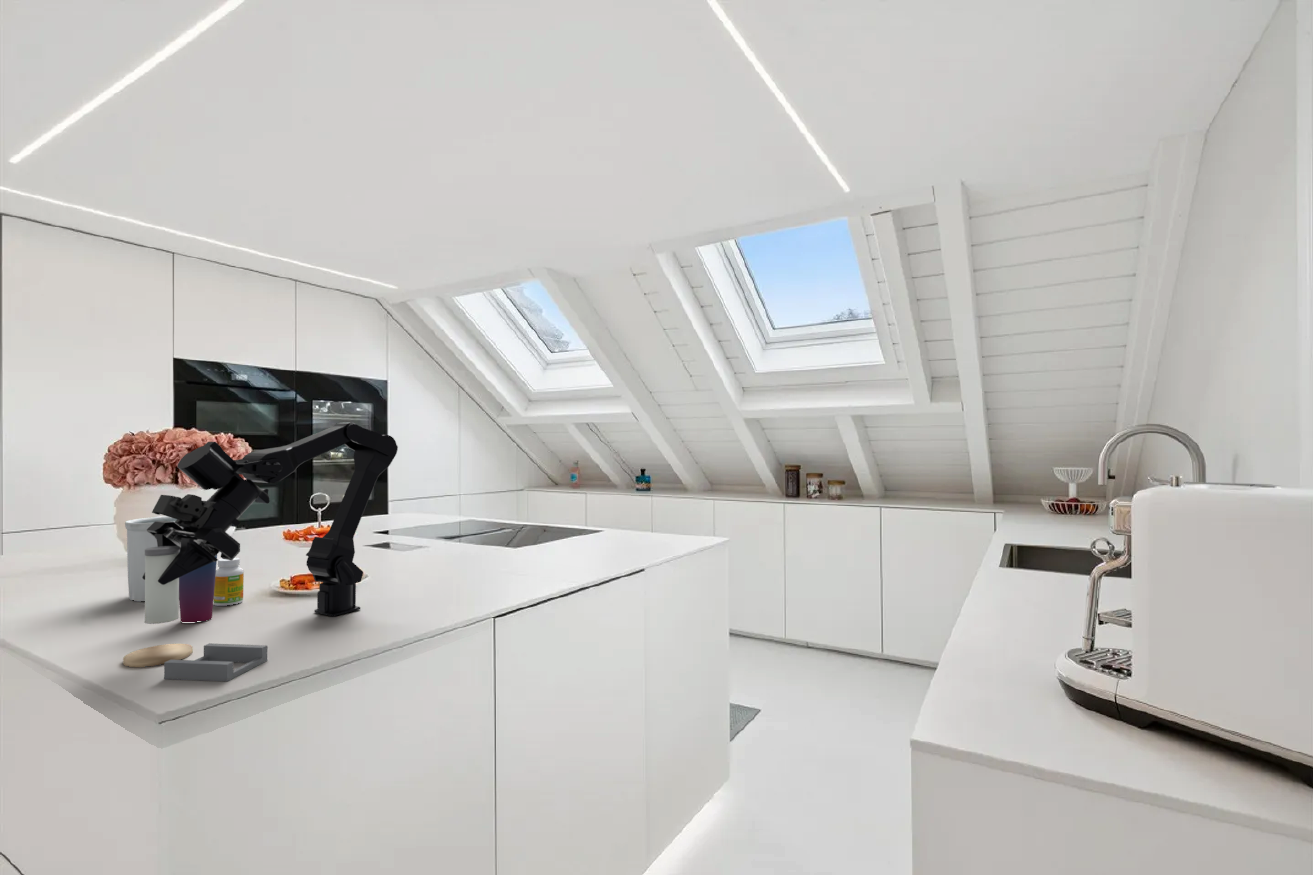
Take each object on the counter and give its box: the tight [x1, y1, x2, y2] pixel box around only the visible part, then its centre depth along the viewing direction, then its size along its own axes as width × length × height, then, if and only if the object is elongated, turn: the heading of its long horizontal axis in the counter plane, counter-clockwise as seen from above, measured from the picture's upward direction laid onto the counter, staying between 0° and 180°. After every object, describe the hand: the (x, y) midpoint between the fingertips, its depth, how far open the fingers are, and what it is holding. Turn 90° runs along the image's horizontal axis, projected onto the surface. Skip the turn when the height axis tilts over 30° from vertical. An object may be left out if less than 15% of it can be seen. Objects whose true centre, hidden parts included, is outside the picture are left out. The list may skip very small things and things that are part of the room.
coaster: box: [122, 643, 193, 668], centre depth 104 cm, size 9×9×1 cm
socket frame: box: [163, 642, 268, 682], centre depth 99 cm, size 9×10×2 cm
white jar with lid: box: [144, 546, 180, 625], centre depth 103 cm, size 5×5×12 cm
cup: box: [179, 554, 218, 622], centre depth 125 cm, size 7×7×15 cm
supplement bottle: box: [213, 556, 245, 607], centre depth 138 cm, size 5×5×10 cm
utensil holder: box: [124, 515, 183, 602], centre depth 144 cm, size 15×15×18 cm
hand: (152, 581), depth 102 cm, fingers closed on white jar with lid, 4 cm apart
